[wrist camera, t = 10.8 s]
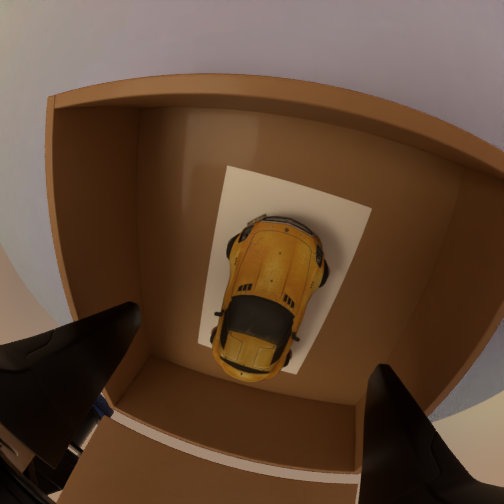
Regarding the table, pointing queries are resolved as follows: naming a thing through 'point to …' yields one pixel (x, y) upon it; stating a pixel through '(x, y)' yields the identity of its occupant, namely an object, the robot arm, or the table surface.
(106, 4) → the table surface
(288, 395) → the carton
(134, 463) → the flap
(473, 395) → the table surface
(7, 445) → the robot arm
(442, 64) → the table surface
